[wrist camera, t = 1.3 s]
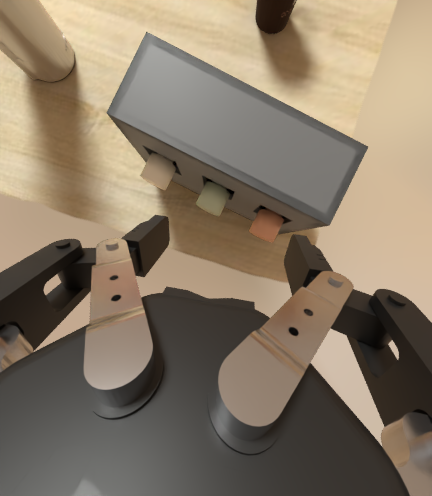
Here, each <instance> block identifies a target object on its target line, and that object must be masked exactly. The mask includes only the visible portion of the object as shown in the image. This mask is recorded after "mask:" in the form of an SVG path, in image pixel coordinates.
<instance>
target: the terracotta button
mask: <svg viewBox="0 0 432 496" xmlns="http://www.w3.org/2000/svg"><path fill="white" fill-rule="evenodd" d="M283 222H284V219H283V218H282V217H281V216H280V214H278V213H276V212H274V211H272V210H270V209H268V208H266V209H265V210H264V209H260V210H259V211H258V213H257V215H256V218H255V220H254V222H253V224H252V226H251V228H250V230H249V232H250V233H251V234H253V235H255V236H257V237H259V238H261V239H263V240H265V241H268V242H274V240H275V238H276V236H277V234H278V232H279V230H280V228H281V226H282V224H283Z"/></svg>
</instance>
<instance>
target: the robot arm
mask: <svg viewBox="0 0 432 496" xmlns="http://www.w3.org/2000/svg"><path fill="white" fill-rule="evenodd" d="M0 50H1V51H2V52H3V53H4V54H5V55H7V56H8V57H9V58H10V59H11V60H12V61H13V62H14V63H15V64H16V65H17V66H18V67H20V68H21V69H22V70H23V71H24V72H25V73H26V74H27V75H28V76H29V77H30V78H31V79H33V80H36V79H40V80H43V81H48V82H54V81H59V80H61V79H63V78H65V77H66V76H67V75H68V74H69V73H70V71H71V70H72V68H73V65H74V52H73V49H72V47H71V45H70V44H69V42H68V41H67V39H66V38H65V36H64V35H63V33H62V32H61V30H60V29H59V28H58V26H57V25H56V24H55V22H54V21H53V19H52V18H51V16H50V15H49V14H48V12H47V11H46V9H45V8H44V7H43V5H42V4H41V2H40V1H39V0H0ZM169 240H170V237H169V221H168V217H166V216H159V215H155V216H153V217H152V218H151V219H150V220H149V221H146V222H143V223H141V224H139V225H138V226H136V227H135V228H134V229H133V230H132V231H130V232H129V233H127V234H126V235H125V236H124V237H122V238H121V239H119V238H113V239H107V240H105V241H102V242H100V243H99V244H98V245H97V247H96V248H82V246H81V243H80V241H79V240H76V239H64V240H60V241H56V242H54V243H51V244H49V245H48V246H46V247H44V248H42V249H41V250H39V251H37V252H35V253H34V254H32V255H30V256H28V257H27V258H25V259H23V260H22V261H20V262H18V263H16V264H15V265H13V266H11V267H9V268H8V269H6V270H4V271H2V272H1V273H0V496H432V323H431V322H430V321H429V320H428V319H427V317H426V316H425V315H424V314H423V313H422V312H421V311H420V310H419V309H418V308H417V306H416V305H415V304H414V303H412V301H410V300H409V299H407V298H406V297H404V296H402V295H400V294H398V293H396V292H394V291H391V290H386V289H378V290H377V291H376V292H375V293H374V294H373V296H371V295H368V294H366V293H362V292H360V291H357V290H354V289H353V284H352V282H351V281H349V279H347V278H346V277H344V276H343V275H341V274H338V273H336V272H333V270H332V268H331V267H330V265H329V263H328V262H327V261H326V259H325V257H324V256H323V254H322V252H321V251H320V249H318V248H317V247H316V246H314V245H311V243H310V242H309V240H308V238H307V236H301V235H294V234H293V235H292V237H291V240H290V243H289V246H288V249H287V252H286V255H285V259H284V266H285V270H286V273H287V277H288V281H289V285H290V288H291V293H292V297H291V298H290V299H289V300H288V301H287V302H286V303H285V304H284V305H283V306H282V307H281V308H280V309H279V310H278V311H277V312H276V313H275V314H274V315H273V316H272V317H271V318H269V317H268V316H266V315H265V314H263V313H261V312H259V311H257V310H255V308H254V302H250V301H244V300H239V299H233V298H223V299H222V298H221V299H208V298H205V297H202V296H200V295H198V294H195V293H193V292H190V291H188V290H183V289H177V288H171V287H166V288H165V290H164V292H163V293H157V294H151V295H147V296H144V297H142V298H141V296H140V292H139V288H138V284H137V280H136V276H141V277H145V276H146V274H147V273H148V272H149V270H150V269H151V268H152V266H153V265H154V264H155V262H156V261H157V260H158V259H159V257H160V256H161V255H162V253H163V252H164V251H165V249H166V248H167V247H168V245H169ZM56 274H58V276H59V278H60V280H61V282H62V283H61V284H59V285H58V286H57V287H56V288H55V289H53V290H52V291H51V292H50V293H48V294H47V295H45V294H44V291H43V289H44V286H45V284H46V282H47V281H49V280H50V279H51V278H52V277H54V276H55V275H56ZM90 291H91V302H90V323H89V324H88V325H86V326H84V327H82V328H80V329H78V330H76V331H74V332H72V333H71V334H68V335H66V336H65V337H63V338H61V339H59V340H57V341H55V342H53V343H51V344H49V345H47V346H45V347H43V348H41V349H39V350H37V351H35V352H33V351H34V350H35V349H36V348H37V347H38V346H39V345H40V344H41V343H42V342H43V341H44V340H45V339H46V338H47V337H48V335H49V334H50V333H51V332H52V331H53V330H54V329H55V328H56V327H57V326H58V325H59V324H60V323H61V322H62V321H63V320H64V318H66V317H67V315H68V314H69V313H70V312H71V311H72V310H73V309H74V308H75V307H76V306H77V305H78V304H79V303H80V302H81V300H83V299H84V298H85V296H86V295H87V294H88V293H89V292H90ZM330 328H331V329H333V330H336V331H338V332H340V333H343V334H345V335H347V338H348V340H349V343H350V345H351V347H352V350H353V352H354V354H355V357H356V359H357V362H358V364H359V367H360V369H361V371H362V374H363V376H364V379H365V381H366V383H367V386H368V388H369V390H370V393H371V395H372V398H373V400H374V403H375V405H376V407H377V410H378V412H379V414H380V417H381V419H382V422H383V424H384V427H385V428H384V429H383V430H382V433H381V442H382V446H383V447H382V446H381V445H380V444H379V442H378V441H377V440H376V439H375V437H374V436H373V435H372V434H371V433H370V431H369V430H368V429H367V428H366V427H365V426H364V425H363V423H362V422H361V421H360V420H359V419H358V418H357V416H356V415H355V414H354V413H353V412H352V411H351V409H350V408H349V407H348V406H347V405H346V404H345V402H344V401H343V400H342V399H341V398H340V397H339V396H338V394H336V392H335V391H334V390H333V389H332V387H331V386H330V385H329V384H328V383H327V382H326V381H325V379H324V378H323V377H322V376H321V375H320V374H319V372H318V371H317V370H316V369H315V368H314V366H313V365H312V364H311V363H310V362H311V360H312V359H313V357H314V355H315V354H316V352H317V350H318V348H319V347H320V345H321V343H322V342H323V340H324V338H325V337H326V335H327V333H328V331H329V330H330ZM391 340H393V342H394V343H395V345H396V346H397V348H398V351H399V359H398V360H397V359H396V357H395V355H394V353H393V352H392V350H391V348H390V347H389V345H388V343H389V342H390V341H391Z"/></svg>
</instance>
